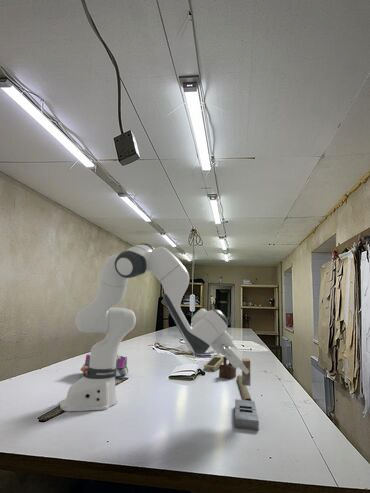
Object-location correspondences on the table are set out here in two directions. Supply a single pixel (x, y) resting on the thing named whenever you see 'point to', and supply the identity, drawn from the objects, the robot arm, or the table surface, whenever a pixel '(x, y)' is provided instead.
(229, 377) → the wooden tool caddy
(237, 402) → the grey slotted block
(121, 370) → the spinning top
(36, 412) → the table surface
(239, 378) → the roll
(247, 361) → the clip
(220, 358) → the box
